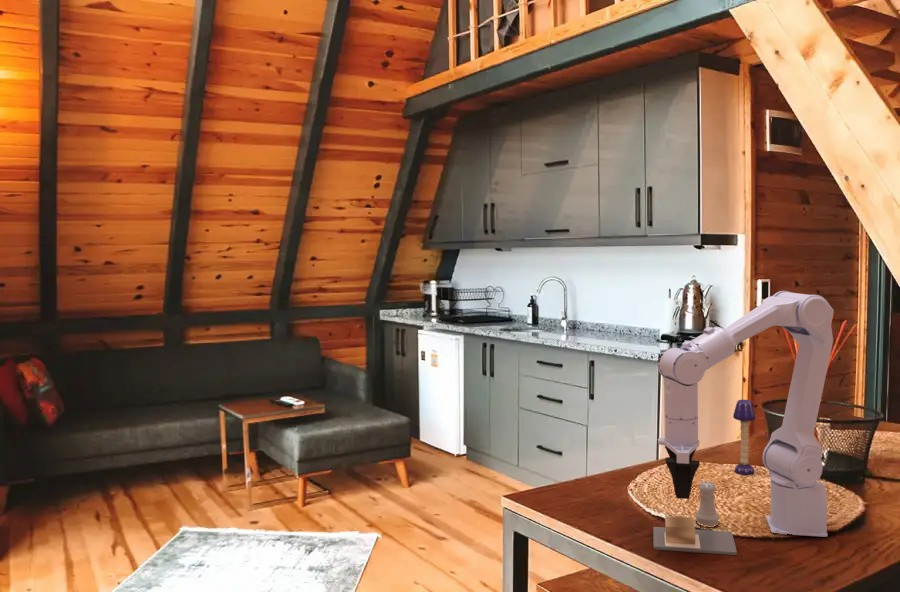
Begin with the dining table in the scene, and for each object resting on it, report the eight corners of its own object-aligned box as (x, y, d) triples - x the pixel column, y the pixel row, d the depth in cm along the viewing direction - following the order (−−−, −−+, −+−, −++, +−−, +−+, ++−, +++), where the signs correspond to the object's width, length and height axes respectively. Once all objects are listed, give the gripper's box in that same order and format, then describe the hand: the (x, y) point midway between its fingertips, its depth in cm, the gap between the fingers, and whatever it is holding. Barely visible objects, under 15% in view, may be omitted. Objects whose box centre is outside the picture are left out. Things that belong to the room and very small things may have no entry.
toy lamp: (758, 475, 174) (758, 402, 173) (737, 476, 174) (737, 403, 173) (750, 468, 179) (750, 397, 177) (730, 469, 179) (730, 398, 177)
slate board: (731, 534, 144) (731, 531, 143) (736, 555, 135) (736, 551, 135) (653, 529, 147) (653, 526, 147) (653, 549, 138) (653, 546, 138)
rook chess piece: (721, 528, 146) (721, 487, 145) (696, 527, 147) (696, 486, 146) (717, 519, 151) (717, 479, 150) (693, 518, 151) (693, 478, 151)
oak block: (693, 533, 143) (693, 517, 143) (695, 544, 138) (695, 528, 138) (665, 531, 144) (665, 515, 144) (666, 542, 140) (666, 526, 139)
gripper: (657, 405, 146) (658, 475, 147) (658, 426, 132) (659, 503, 134) (696, 406, 144) (697, 477, 146) (701, 427, 130) (702, 506, 132)
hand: (681, 490), depth 140 cm, fingers open, 7 cm apart
